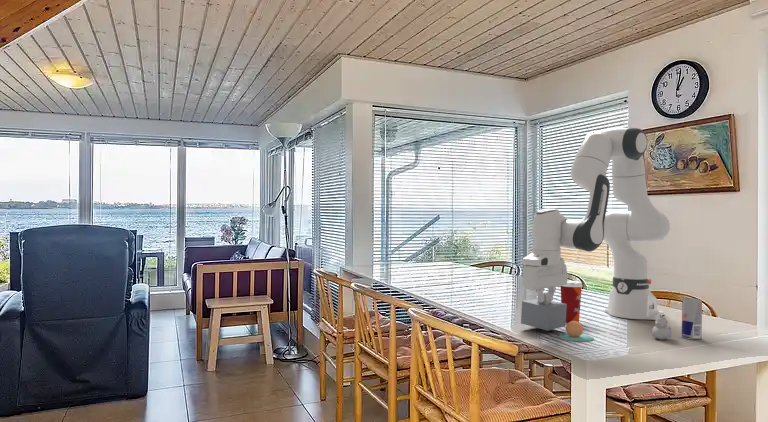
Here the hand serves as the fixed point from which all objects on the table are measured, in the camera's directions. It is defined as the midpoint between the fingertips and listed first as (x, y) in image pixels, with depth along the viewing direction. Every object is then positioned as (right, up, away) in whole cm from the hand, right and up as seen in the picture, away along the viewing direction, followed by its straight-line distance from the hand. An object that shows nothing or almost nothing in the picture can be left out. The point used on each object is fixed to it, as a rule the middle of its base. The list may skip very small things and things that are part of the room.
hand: (545, 301), depth 172 cm
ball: (+6, -7, -8) cm, 13 cm away
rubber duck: (+33, -10, -9) cm, 36 cm away
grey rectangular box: (-1, -8, +1) cm, 8 cm away
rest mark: (+7, -10, -8) cm, 15 cm away
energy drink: (+43, -10, -7) cm, 45 cm away
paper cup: (+13, -10, +15) cm, 22 cm away
